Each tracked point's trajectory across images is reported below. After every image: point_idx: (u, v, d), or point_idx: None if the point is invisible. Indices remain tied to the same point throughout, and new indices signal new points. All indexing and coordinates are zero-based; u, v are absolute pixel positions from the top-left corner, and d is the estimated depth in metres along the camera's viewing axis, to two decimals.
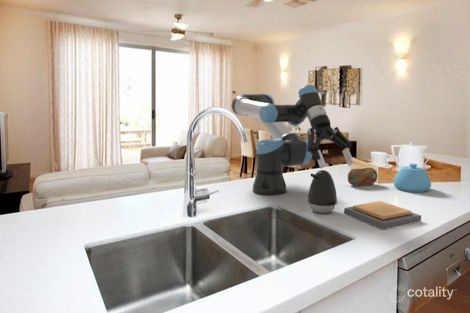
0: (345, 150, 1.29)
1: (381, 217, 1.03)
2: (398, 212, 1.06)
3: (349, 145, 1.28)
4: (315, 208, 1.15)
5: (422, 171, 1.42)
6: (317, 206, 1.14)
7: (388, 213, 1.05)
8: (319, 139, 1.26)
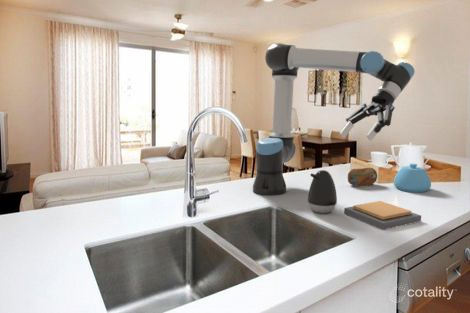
0: (351, 125, 1.30)
1: (381, 217, 1.03)
2: (398, 212, 1.06)
3: None
4: (315, 208, 1.15)
5: (422, 171, 1.42)
6: (317, 206, 1.14)
7: (388, 213, 1.05)
8: None
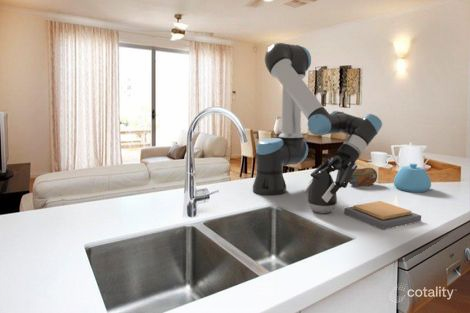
0: None
1: (381, 217, 1.03)
2: (398, 212, 1.06)
3: None
4: (315, 208, 1.15)
5: (422, 171, 1.42)
6: (317, 206, 1.14)
7: (388, 213, 1.05)
8: None
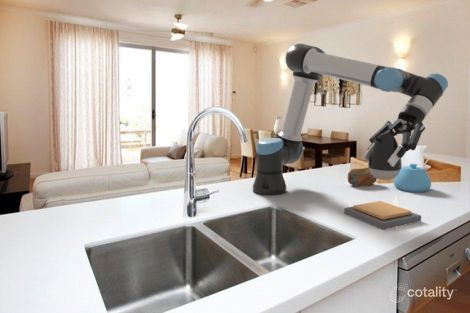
0: None
1: (381, 217, 1.03)
2: (398, 212, 1.06)
3: None
4: (378, 174, 1.06)
5: (422, 171, 1.42)
6: (381, 171, 1.05)
7: (388, 213, 1.05)
8: None
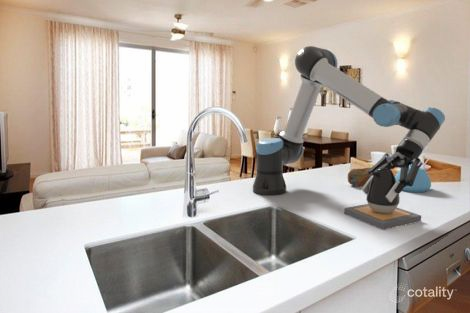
0: None
1: None
2: (398, 215, 1.06)
3: None
4: (376, 208, 1.08)
5: (422, 171, 1.42)
6: (379, 206, 1.07)
7: (388, 216, 1.06)
8: None
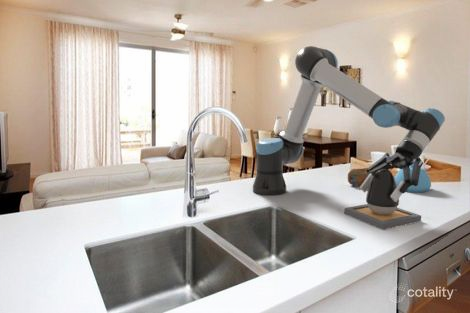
0: None
1: None
2: (398, 217, 1.07)
3: None
4: (376, 209, 1.08)
5: (422, 171, 1.42)
6: (379, 207, 1.07)
7: (388, 218, 1.06)
8: None
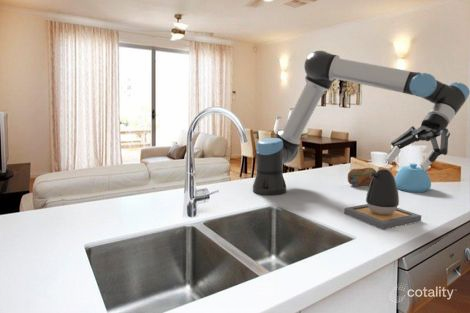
0: (398, 150, 1.19)
1: None
2: (398, 217, 1.07)
3: None
4: (376, 209, 1.08)
5: (422, 171, 1.42)
6: (379, 207, 1.07)
7: (388, 218, 1.06)
8: None
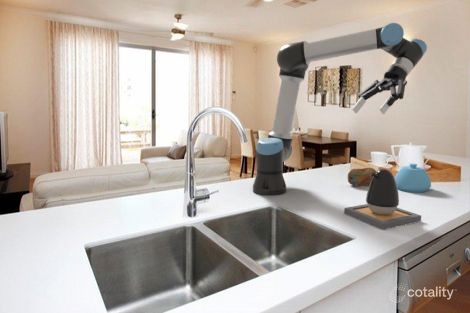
0: (363, 101, 1.32)
1: None
2: (398, 217, 1.07)
3: None
4: (376, 209, 1.08)
5: (422, 171, 1.42)
6: (379, 207, 1.07)
7: (388, 218, 1.06)
8: None
